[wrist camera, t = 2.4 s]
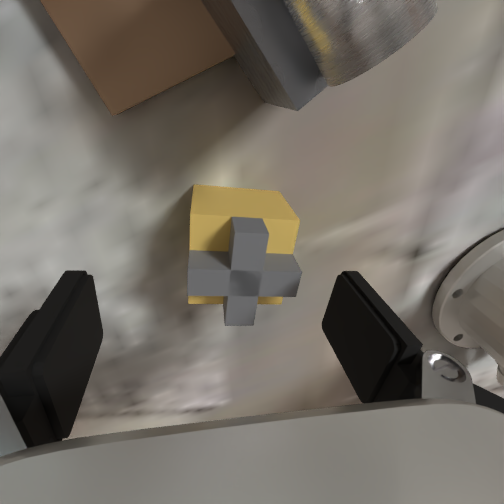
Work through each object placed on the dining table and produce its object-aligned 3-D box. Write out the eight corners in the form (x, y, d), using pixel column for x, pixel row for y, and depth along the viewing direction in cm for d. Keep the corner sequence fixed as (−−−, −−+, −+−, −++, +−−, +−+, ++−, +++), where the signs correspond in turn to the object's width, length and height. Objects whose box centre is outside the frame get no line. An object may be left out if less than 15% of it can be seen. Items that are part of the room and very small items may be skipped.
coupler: (279, 191, 17) (311, 236, 12) (266, 262, 19) (288, 325, 14) (193, 184, 16) (188, 229, 11) (191, 259, 18) (186, 326, 13)
